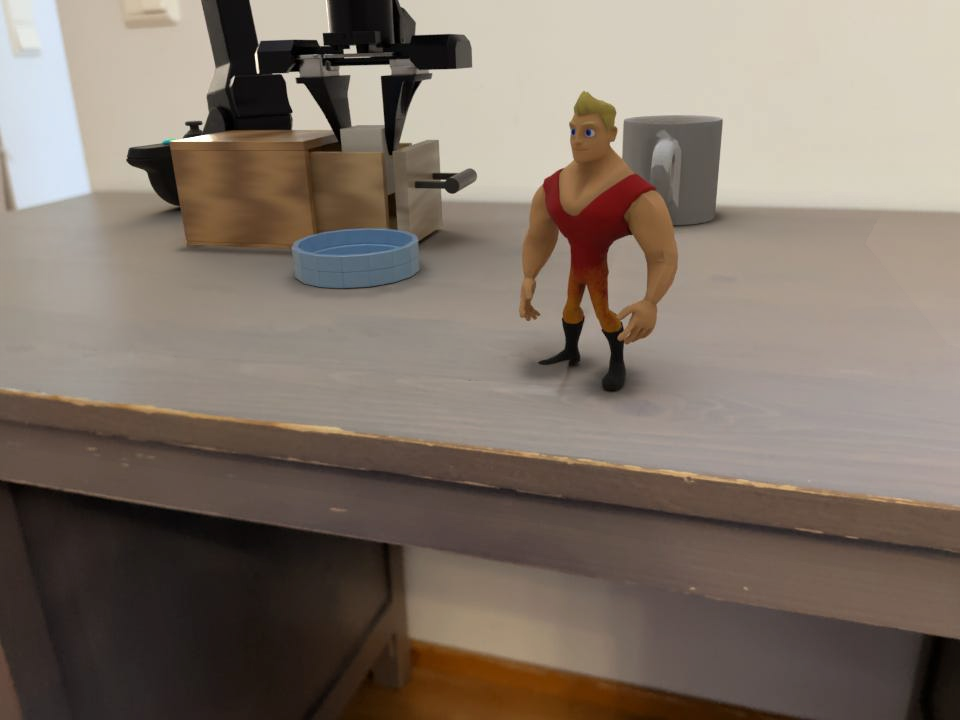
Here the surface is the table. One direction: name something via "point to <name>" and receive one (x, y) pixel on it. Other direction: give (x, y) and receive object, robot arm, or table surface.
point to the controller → (161, 164)
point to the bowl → (356, 257)
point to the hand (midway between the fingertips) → (371, 154)
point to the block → (369, 146)
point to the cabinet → (247, 186)
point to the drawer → (382, 188)
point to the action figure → (598, 235)
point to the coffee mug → (677, 161)
